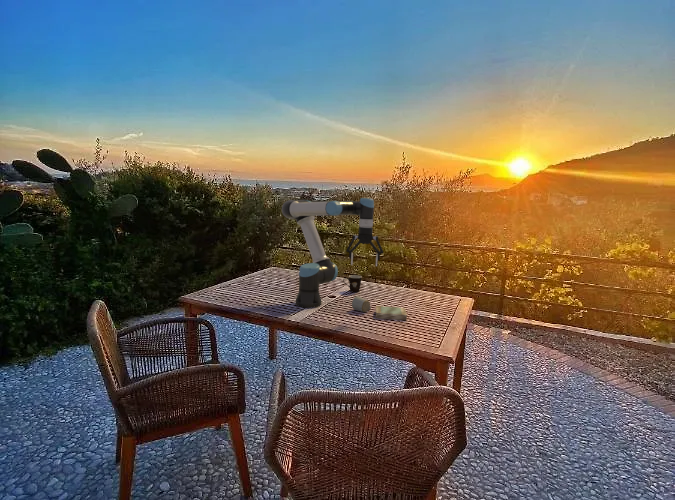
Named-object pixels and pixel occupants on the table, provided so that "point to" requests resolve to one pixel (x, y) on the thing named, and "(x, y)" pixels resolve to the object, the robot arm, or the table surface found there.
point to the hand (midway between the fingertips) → (364, 265)
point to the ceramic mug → (360, 304)
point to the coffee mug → (354, 283)
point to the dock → (391, 313)
